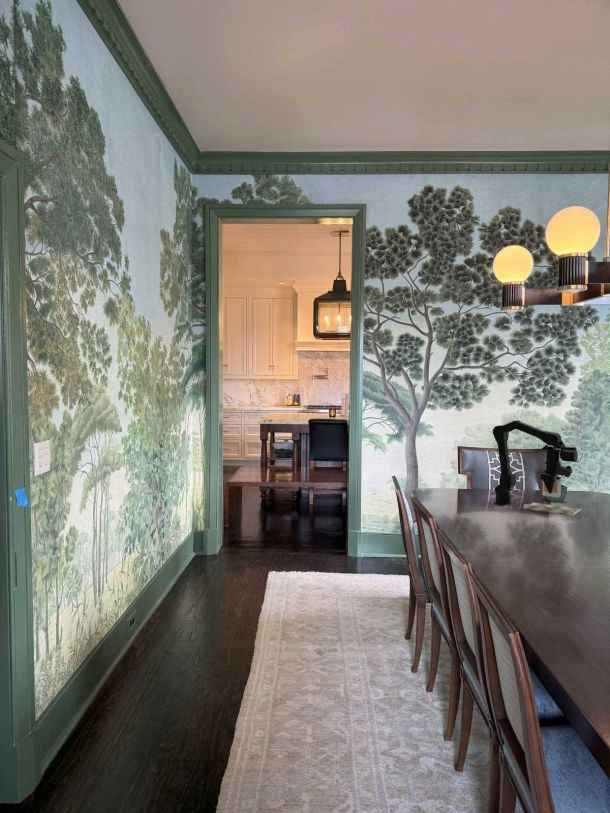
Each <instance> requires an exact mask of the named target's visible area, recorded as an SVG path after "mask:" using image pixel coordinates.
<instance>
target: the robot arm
mask: <svg viewBox="0 0 610 813" xmlns="http://www.w3.org/2000/svg"><path fill="white" fill-rule="evenodd" d="M515 430H517V431H521V432H522V433H525V434H527V435H530V436H532V437H535V438H537V439H539V440H540V441H541V442H542V443H544V446H542V448H541V450H542V451H543V450H544V451H545V452H546V454H545V461H544V464H545V470H544V472H542V473H540V474H539V480H542V482H543V481H544V483H545V486H546V488H547V490H548V492H549V493H552V489H553V484H554V482H555V481H557V480H556V479H562V478H563V477H565V478H570V477H571V476H572V474H573V472H574V470H573V469H572V466H571V465H566V466H565V465H564V466H563V465H562V462H561V461H560V460H562V461H563V462H571V463H572V462H573V463H577V462H578V458H579V453H578V450H577V446H572V447H571V446H567V445H565V443H564V441H563V440H562V436H561V434H560V433H558V432H555V431H548V430H543V429H540V428H537V427H535V426H532V425H530V424H527V423H524V422H523V421H522V420H519V419H518V420H517V419H516V420H512V421H511V422H509V423H506V424H501V425H500V424H499V425H495V426H494V427H493V428H492V436H493V437H494V440H495V442H496V444H497V451H498V458H499V466H500V467H499V468H500V475H499V480H498V482H499V484H498V485H497V486H495V487H494V492H495V502H494V504H495V505H497V506H498V505H499V506H506V505H509V504H512V497H513V496H512V495H511V494H512V493H511V492H512V490H513V488H515V487H516V483H518V481H517V475H516V473H514V474H513V472H512V471H511V463H510V455H509V454H510V453H509V448H508V446H509V445H508V441H509V437H510V436H509V435H510V434H509V433H510V432H512V431H515Z"/></svg>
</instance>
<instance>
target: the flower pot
mask: <svg viewBox="0 0 610 813" xmlns="http://www.w3.org/2000/svg"><path fill="white" fill-rule="evenodd" d="M567 492H568V486H566V485H564V484H562V483H561V496H560V497H551V496H545V499H546V500H547V501H549V502H550V503H551V502H553V503H563V502H564V501H565V499H566V497H567Z"/></svg>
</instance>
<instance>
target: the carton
mask: <svg viewBox="0 0 610 813" xmlns="http://www.w3.org/2000/svg"><path fill="white" fill-rule="evenodd" d="M556 480H557V481H555V482H554V484H553V489H552V493H549V492H548V490H547V488H546V486H545V483H544V481H543V480H542V496H551V497H560V496H561V484H562V478H560V479H556Z"/></svg>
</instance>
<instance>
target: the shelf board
mask: <svg viewBox="0 0 610 813" xmlns="http://www.w3.org/2000/svg"><path fill="white" fill-rule="evenodd" d="M523 509H525V510H531V511H538V512H543V513H544V512H545V513H550V514H557V515H564V516H570V517H574V516H576V515H577V514H578V513H579V512H580V511H582V509H580V508H573V507H566V506H559V505H553V504H545V503H541V502H540V503H539V502H531V503H530V504H527V503H523Z"/></svg>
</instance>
